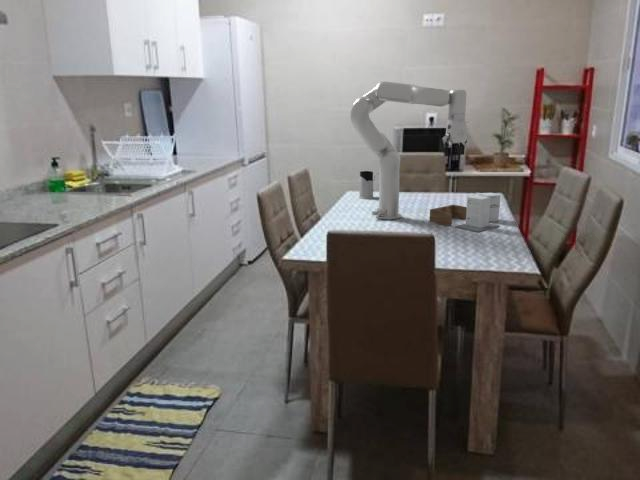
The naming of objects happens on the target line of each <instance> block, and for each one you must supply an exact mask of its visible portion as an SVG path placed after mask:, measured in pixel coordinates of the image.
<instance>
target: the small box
mask: <svg viewBox="0 0 640 480" xmlns="http://www.w3.org/2000/svg"><path fill="white" fill-rule="evenodd" d="M466 207H467V210H466V220H465V224H466V225H468V226H473V227H478V228H483V227H486V226H489V211H490V198H489V197H483V196H479V195H470V196H467V199H466Z"/></svg>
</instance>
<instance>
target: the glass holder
mask: <svg viewBox="0 0 640 480" xmlns="http://www.w3.org/2000/svg"><path fill="white" fill-rule="evenodd" d="M377 175H379V173H378V172H376V173H375V174H374V172H373V171H369V170H362V171H359V195H358V198H359V199H362V200H372V199H374V191H375V190H376V189H377V188H378V187H379V182H378V183H377V185H376V186H375V188H374V181H375V180H376V176H377Z"/></svg>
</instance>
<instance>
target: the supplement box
mask: <svg viewBox="0 0 640 480" xmlns="http://www.w3.org/2000/svg"><path fill="white" fill-rule="evenodd" d="M478 196H483V197H489V198H490V211H489V222H499V219H500V218H499V217H500V207H501V205H500V203H501V194H498V193H494V192H482V193H478Z"/></svg>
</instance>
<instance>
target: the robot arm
mask: <svg viewBox="0 0 640 480" xmlns="http://www.w3.org/2000/svg"><path fill="white" fill-rule="evenodd" d="M467 94H468V93H467V91H466V89H452V90H449V89H442V88H434V87H433V88H432V87H426V86H421V85H419V86H418V85H417V84H410V83H401V82H392V81H380V82H378V83H377V84H376V85H375V87H373V89H371V90H370V91H368V92H367V93H365V94H364V95H362V96H360V97H358V98H357V99H355V101H354V102H353V105H352V107H351V109H350V120H351V121H350V122H351V124H352V126H353V128H354V129H355V131H356V132H357V133H358V135H359V137H360V139H361V140H362V141H363V143H364V144H365V146H366V147H367V149H368V150H369V151H370V152H371V153H373V154H374V155H375V156H376V158H377V159H378V161H379V164H378V166H379V169H378V170H379V174H378V175H379V178H378V179H379V180H378V183H379V186H378V187H379V188H378V189H379V191H378V196H379V197H378V207H377V210H374V211H372V212H371V215H372V216H375V218H377V219H379V220H391V219H393V220H399V219H401V218H402V214H401V213H400V212H399V206H400V205H399V204H400V203H399V202H400V170H401V156H400V154H399V152H398V151H397V149H396V148H395V147H394V145H393V144H392V143H391V141H390V139H388V137H387V136H386V135H385V134H384V133H383V132H380V130H379V129H378V128H377V127H376V125H375V124H374V122H373V121H372V119H371V118H370V114H371V113H372V112H374V111H375V110H377V108H379V107H380V106H382V105H383V104H385V103H386V102H393V103H401V104H409V105H410V104H411V105H422V106H423V105H424V106H433V107H445V106H448V114H447V115H448V117H447V123H446V128H445V135H444V136H443V137H442V143H443V144H442V145H443V147H444V157H452V145H453V144H458V149H457V154H458V155H461V156H464V155H465V149H466V148H465V147H466V145H467V142H468V138H469V136H468V135H467V130H468V129H467V121H466V109H467V107H466V106H467Z"/></svg>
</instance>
